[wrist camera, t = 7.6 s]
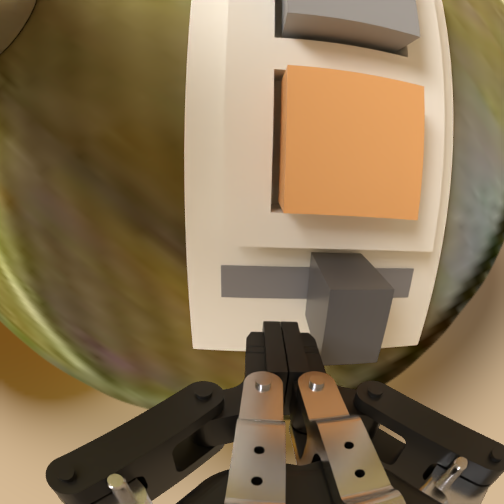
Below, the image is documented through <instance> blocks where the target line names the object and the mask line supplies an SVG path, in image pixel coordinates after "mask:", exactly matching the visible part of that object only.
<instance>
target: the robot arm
mask: <svg viewBox="0 0 504 504" xmlns="http://www.w3.org/2000/svg"><path fill="white" fill-rule="evenodd" d="M35 3H36V0H0V53H2V52H3V51H4V50H5V49H6V48H7V47H8V46H9V45H10V43H11V42H12V41H13V40H14V39H15V37H16V36H17V35H18V33H19V32H20V30H21V29H22V28H23V26H24V24H25V23H26V21H27V19H28V18H29V16H30V14H31V12H32V10H33V8H34V5H35ZM317 347H318V346H317V343H316V340H315V338H314V337H313V336H312V335H311V334H309V333H300V330H299V326H298V323H297V322H288V321H281V322H280V321H263V328H262V332H251V333H250V334H249V335H248V336H247V338H246V356H245V379H244V381H243V382H242V383H241V384H240V385H238V386H236V387H234V388H230V389H225V390H222V388H221V387H220V386H218V385H217V384H215V383H212V382H207V381H200V382H195V383H192V384H190V385H189V386H187V387H185V388H184V389H182V390H181V391H179V392H177V393H176V394H174V395H172V396H171V397H169V398H167V399H166V400H164V401H162V402H161V403H159V404H157V405H156V406H154V407H152V408H151V409H149V410H147V411H146V412H144V413H142V414H140V415H139V416H137V417H135V418H134V419H132V420H130V421H128V422H126V423H124V424H123V425H121V426H119V427H117V428H116V429H114V430H112V431H110V432H108V433H107V434H105V435H103V436H101V437H99V438H97V439H95V440H93V441H91V442H89V443H87V444H85V445H83V446H81V447H79V448H78V449H76V450H74V451H72V452H70V453H68V454H66V455H63V456H61V457H59V458H57V459H55V460H54V461H52V462H51V463H50V465H49V466H48V467H47V470H46V479H47V482H48V484H49V486H50V487H51V488H52V489H53V490H54V491H55V493H56V494H57V495H58V497H59V498H60V500H61V501H62V502H63V503H64V504H152V500H154V499H155V498H157V497H158V496H160V495H161V494H162V493H164V492H165V491H167V490H168V489H170V488H171V487H172V486H174V485H175V484H177V483H178V482H179V481H181V480H182V479H184V478H185V477H186V476H187V475H189V474H190V473H192V472H193V471H194V470H196V469H197V468H198V467H200V466H201V465H202V464H203V463H205V462H206V461H207V460H209V459H210V458H211V457H212V456H213V455H215V454H216V453H217V452H218V451H220V449H222V448H223V446H224V444H227V443H232V442H234V444H233V451H232V457H231V464H230V469H229V470H225V471H222V472H219V473H217V474H215V475H213V476H211V477H209V478H207V479H206V480H204V481H203V482H202V483H201V484H199V485H198V486H197V487H196V488H195V489H193V490H192V491H191V492H190V493H189V494H187V495H186V496H185V497H184V498H182V499H181V500H180V501H179V502H177V503H176V504H481V502H482V500H483V498H484V496H485V494H486V492H487V490H488V488H489V487H490V486H491V485H492V484H493V483H494V481H496V480H497V478H498V477H499V476H500V475H501V474H502V473H503V472H504V445H502V444H501V443H499V442H496V441H494V440H492V439H490V438H488V437H486V436H484V435H482V434H480V433H477V432H476V431H473V430H471V429H469V428H467V427H465V426H463V425H461V424H459V423H457V422H455V421H453V420H451V419H449V418H447V417H445V416H443V415H441V414H440V413H438V412H436V411H434V410H432V409H430V408H428V407H426V406H424V405H422V404H420V403H418V402H417V401H415V400H413V399H411V398H409V397H407V396H405V395H404V394H402V393H400V392H398V391H396V390H394V389H392V388H391V387H389V386H387V385H385V384H383V383H381V382H378V381H366V382H363V383H361V384H360V385H359V386H358V388H357V390H356V389H350V388H344V387H341V386H338V385H336V383H335V381H334V379H333V378H332V377H331V376H329V375H328V374H326V372H325V369H324V365H323V362H322V359H321V356H320V354H319V349H318V348H317ZM283 415H290V419H291V421H290V426H289V432H290V436H291V440H292V445H293V449H294V454H295V458H296V462H297V465H291V464H286V459H285V458H286V449H285V448H286V446H285V445H286V444H285V442H286V441H285V440H286V439H285V421H283ZM380 424H381V425H383V426H385V427H387V428H388V429H390V430H392V431H393V432H395V433H397V434H398V435H400V436H402V437H403V438H404V439H405V441H406V444H405V443H402V442H401V441H399V440H397V439H396V438H394V437H392V436H391V435H389V434H387V433H386V432H384V431H382V430H381V429H379V426H380Z"/></svg>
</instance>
